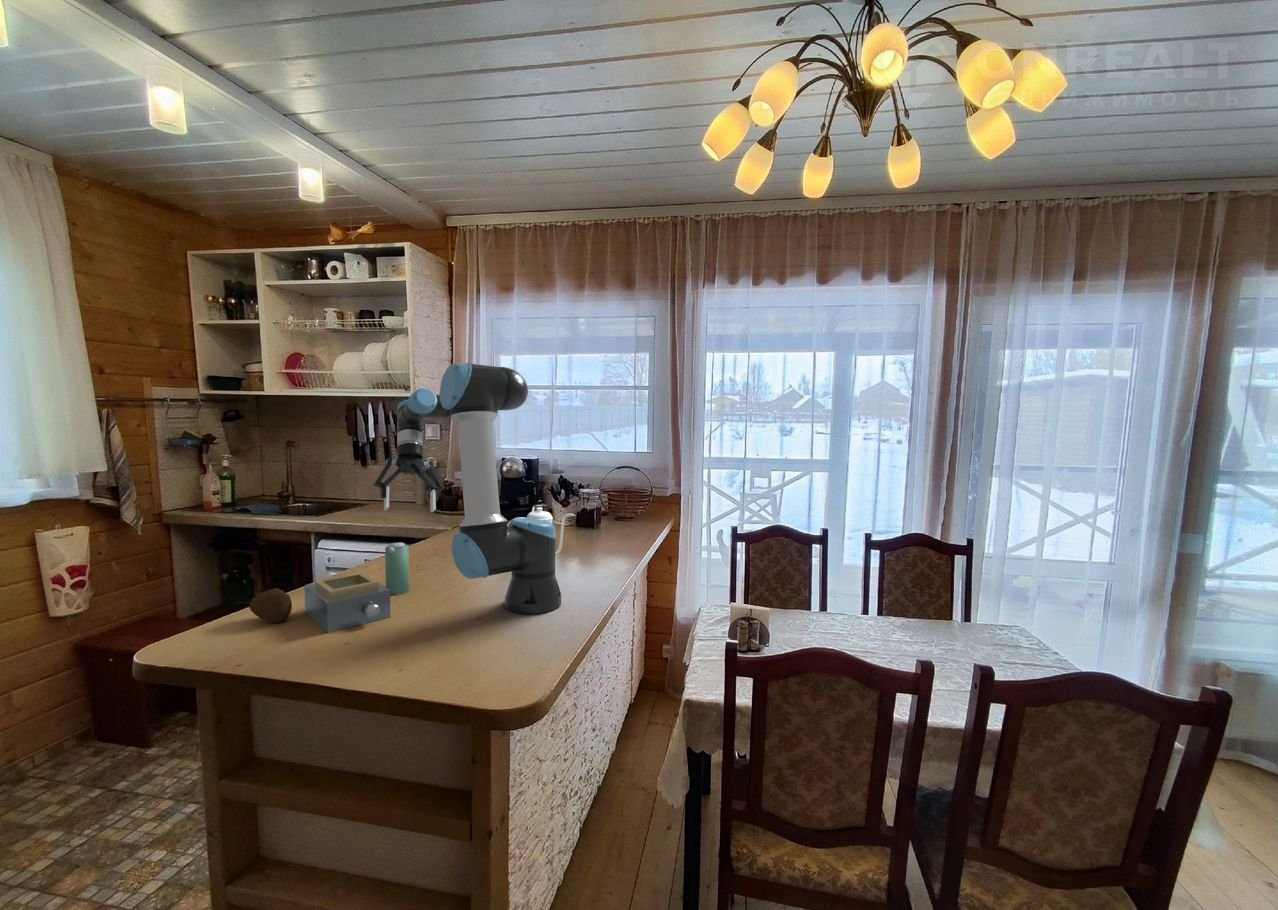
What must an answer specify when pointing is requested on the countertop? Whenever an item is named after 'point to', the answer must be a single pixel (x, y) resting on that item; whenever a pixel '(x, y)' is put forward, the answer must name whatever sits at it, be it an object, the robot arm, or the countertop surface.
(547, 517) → the coffeepot
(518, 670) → the countertop surface
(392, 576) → the can
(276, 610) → the potato
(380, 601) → the box
